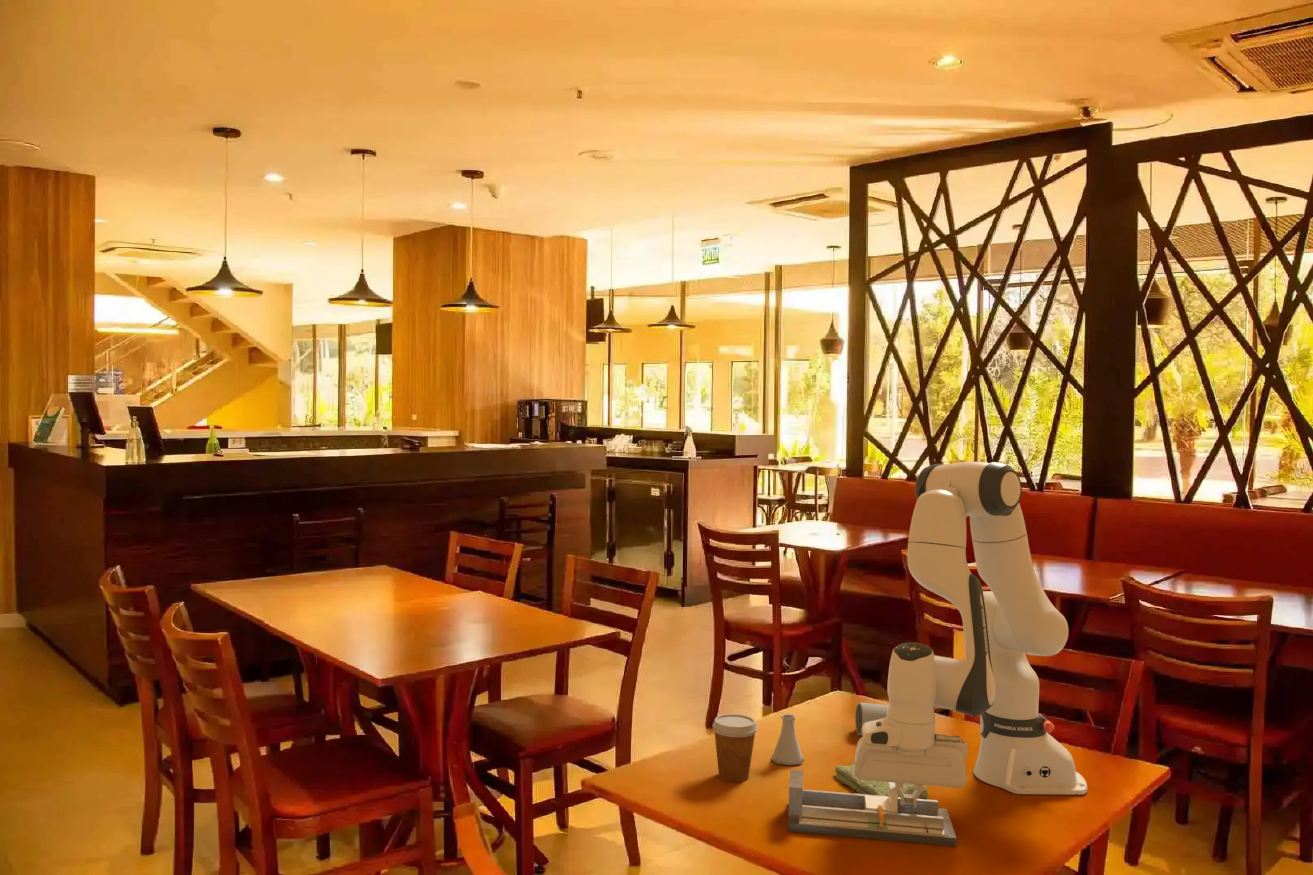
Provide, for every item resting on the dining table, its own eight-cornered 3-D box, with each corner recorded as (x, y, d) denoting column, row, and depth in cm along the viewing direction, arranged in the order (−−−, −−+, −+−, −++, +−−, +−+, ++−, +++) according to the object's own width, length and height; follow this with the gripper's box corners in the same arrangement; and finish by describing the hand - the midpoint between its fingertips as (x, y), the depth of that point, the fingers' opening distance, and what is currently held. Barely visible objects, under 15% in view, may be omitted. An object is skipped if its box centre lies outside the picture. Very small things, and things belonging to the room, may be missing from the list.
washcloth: (882, 769, 210) (882, 755, 210) (932, 801, 193) (932, 785, 193) (830, 777, 205) (830, 762, 205) (877, 810, 189) (877, 793, 189)
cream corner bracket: (894, 809, 183) (895, 782, 183) (898, 831, 174) (899, 802, 173) (864, 807, 184) (865, 779, 184) (867, 829, 174) (868, 799, 174)
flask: (805, 766, 209) (807, 721, 209) (772, 766, 210) (773, 720, 209) (801, 755, 217) (802, 711, 216) (769, 754, 217) (770, 710, 217)
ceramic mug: (895, 740, 228) (896, 707, 228) (861, 739, 227) (862, 707, 227) (883, 726, 238) (884, 695, 238) (850, 725, 238) (851, 695, 238)
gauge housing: (946, 816, 185) (947, 777, 185) (956, 846, 172) (957, 805, 172) (789, 802, 190) (790, 765, 190) (787, 831, 177) (788, 791, 177)
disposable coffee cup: (753, 768, 208) (754, 713, 208) (759, 785, 198) (760, 727, 198) (709, 767, 208) (710, 712, 207) (713, 784, 198) (714, 727, 198)
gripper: (965, 730, 181) (962, 803, 181) (854, 723, 184) (852, 794, 184) (970, 742, 175) (968, 817, 175) (856, 733, 178) (854, 807, 178)
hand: (908, 805), depth 180 cm, fingers closed
